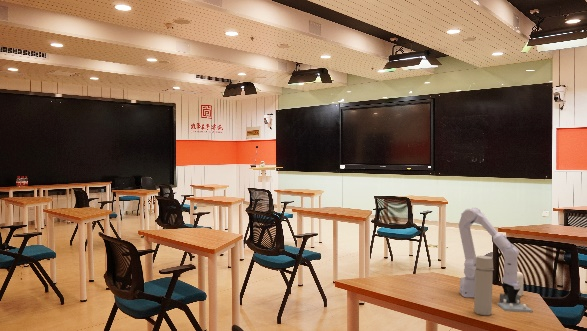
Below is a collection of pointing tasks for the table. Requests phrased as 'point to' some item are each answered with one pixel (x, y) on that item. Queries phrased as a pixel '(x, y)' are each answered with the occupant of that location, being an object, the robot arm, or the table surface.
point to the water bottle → (483, 285)
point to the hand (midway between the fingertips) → (509, 300)
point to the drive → (506, 296)
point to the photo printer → (520, 279)
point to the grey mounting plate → (514, 306)
